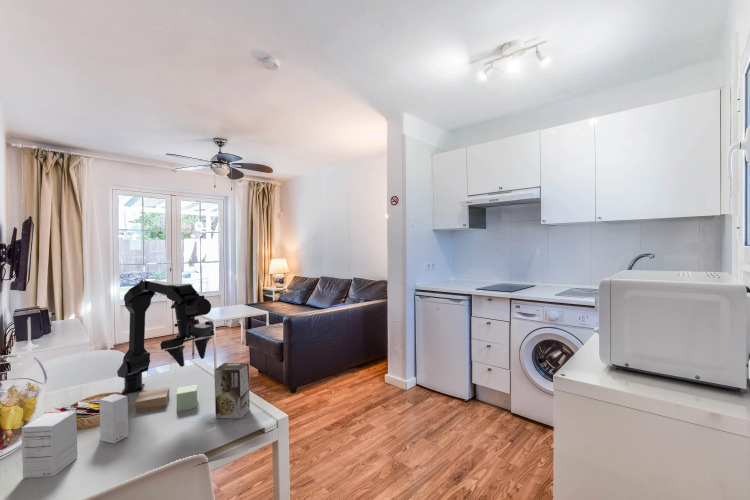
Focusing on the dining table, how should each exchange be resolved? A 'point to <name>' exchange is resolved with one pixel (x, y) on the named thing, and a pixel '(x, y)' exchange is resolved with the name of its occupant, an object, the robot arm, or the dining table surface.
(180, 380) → the dining table surface
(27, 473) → the supplement box
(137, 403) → the walnut block
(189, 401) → the sage cube
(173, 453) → the dining table surface
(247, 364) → the grey cardboard box
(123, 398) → the skincare box
